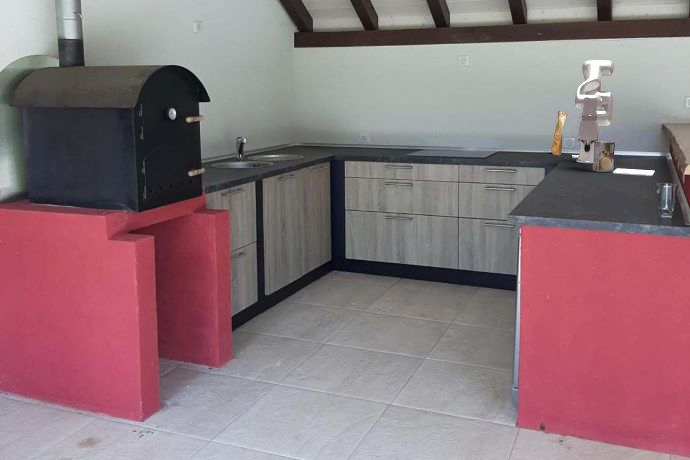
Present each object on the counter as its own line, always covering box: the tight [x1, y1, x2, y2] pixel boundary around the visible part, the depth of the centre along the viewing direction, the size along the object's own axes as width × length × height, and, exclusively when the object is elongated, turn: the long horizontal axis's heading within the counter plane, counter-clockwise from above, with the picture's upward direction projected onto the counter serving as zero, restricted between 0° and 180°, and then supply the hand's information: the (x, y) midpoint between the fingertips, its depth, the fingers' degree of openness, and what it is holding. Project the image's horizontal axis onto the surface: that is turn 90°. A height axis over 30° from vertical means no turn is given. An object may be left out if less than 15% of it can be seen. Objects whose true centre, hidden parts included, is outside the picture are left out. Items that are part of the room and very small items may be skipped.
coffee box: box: [592, 141, 616, 173], centre depth 403 cm, size 9×6×16 cm
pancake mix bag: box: [551, 110, 568, 156], centre depth 481 cm, size 7×19×28 cm, turn 173°
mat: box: [612, 168, 655, 177], centre depth 397 cm, size 20×16×1 cm
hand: (587, 151), depth 406 cm, fingers closed
